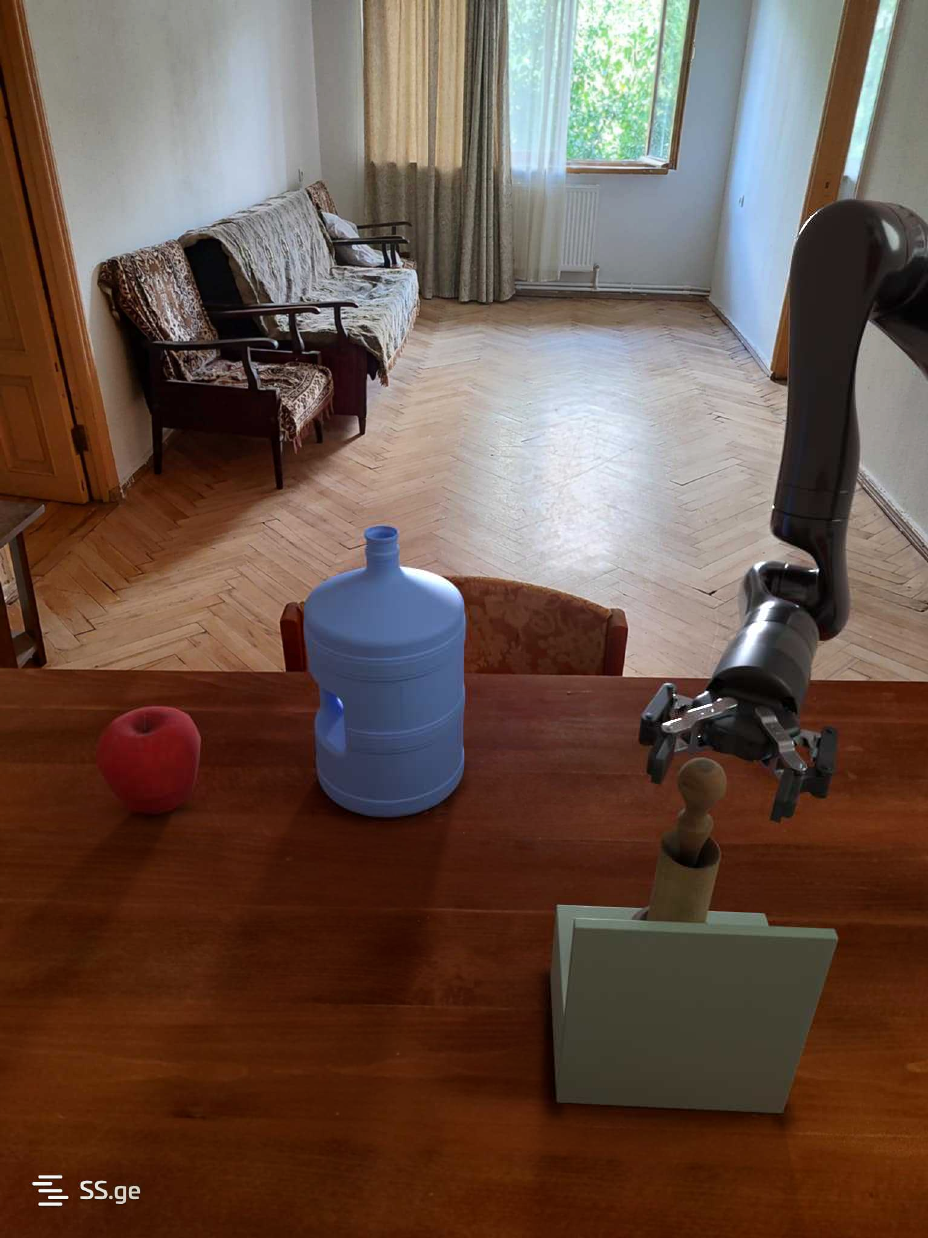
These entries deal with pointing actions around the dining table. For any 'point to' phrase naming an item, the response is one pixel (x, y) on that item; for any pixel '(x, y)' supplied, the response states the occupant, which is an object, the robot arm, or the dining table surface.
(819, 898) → the dining table surface
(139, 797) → the apple
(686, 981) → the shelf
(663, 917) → the mortar and pestle
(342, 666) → the water jug
